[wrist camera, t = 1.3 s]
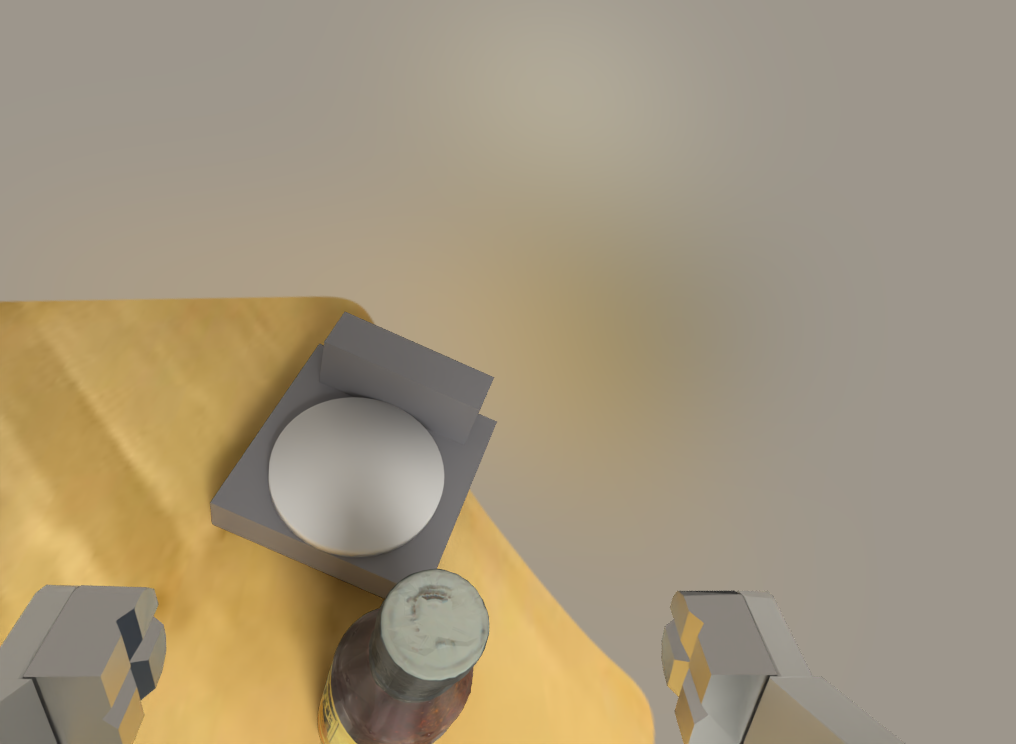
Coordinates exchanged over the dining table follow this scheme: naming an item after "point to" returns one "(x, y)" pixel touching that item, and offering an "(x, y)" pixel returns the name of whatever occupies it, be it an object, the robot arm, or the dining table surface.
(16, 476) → the dining table surface
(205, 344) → the dining table surface
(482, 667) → the dining table surface
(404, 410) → the kitchen scale
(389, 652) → the sauce bottle
